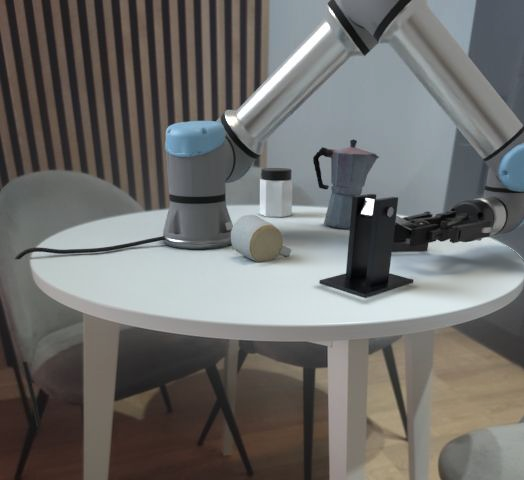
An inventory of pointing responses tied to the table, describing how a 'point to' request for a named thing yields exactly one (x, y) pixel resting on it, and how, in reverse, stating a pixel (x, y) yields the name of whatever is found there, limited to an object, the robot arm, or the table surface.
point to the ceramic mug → (257, 239)
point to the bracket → (369, 250)
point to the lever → (368, 212)
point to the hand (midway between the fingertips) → (401, 235)
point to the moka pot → (344, 180)
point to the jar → (276, 192)
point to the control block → (407, 246)
